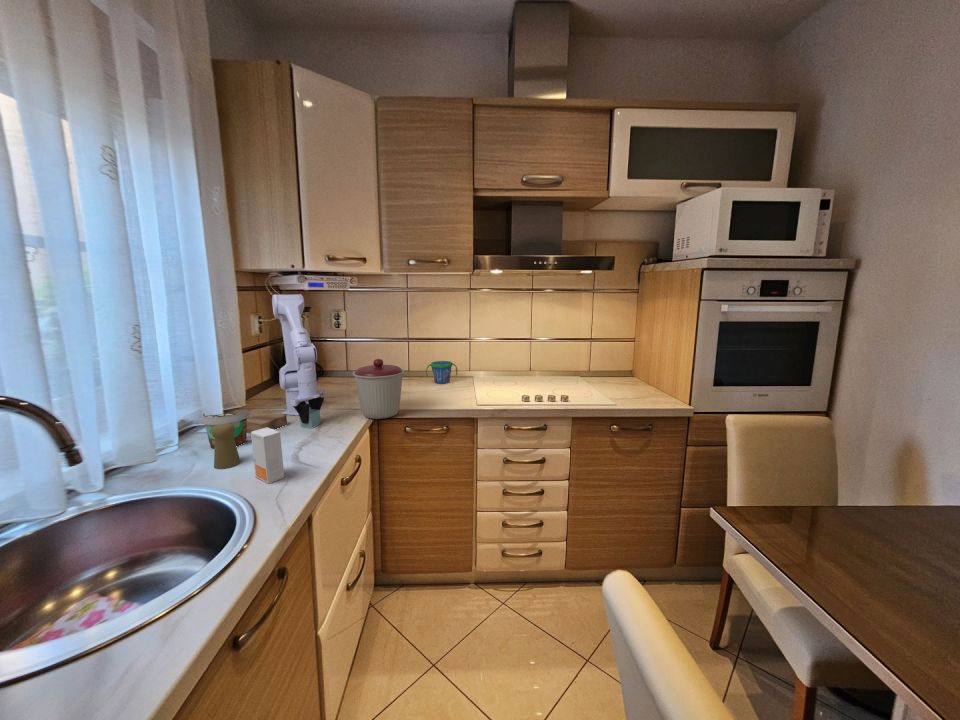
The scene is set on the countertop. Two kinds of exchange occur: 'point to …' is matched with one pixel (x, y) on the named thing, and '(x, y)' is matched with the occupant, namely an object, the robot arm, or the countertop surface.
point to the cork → (225, 446)
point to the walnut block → (265, 421)
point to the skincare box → (267, 455)
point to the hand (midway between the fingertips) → (310, 420)
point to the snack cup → (441, 371)
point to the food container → (235, 419)
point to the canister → (379, 389)
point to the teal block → (312, 419)
